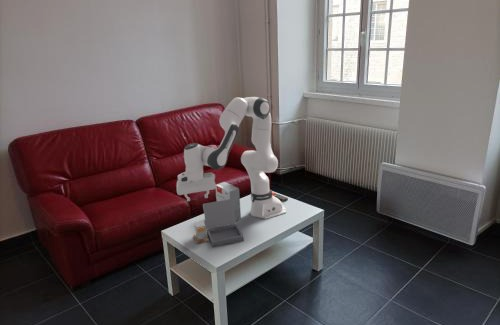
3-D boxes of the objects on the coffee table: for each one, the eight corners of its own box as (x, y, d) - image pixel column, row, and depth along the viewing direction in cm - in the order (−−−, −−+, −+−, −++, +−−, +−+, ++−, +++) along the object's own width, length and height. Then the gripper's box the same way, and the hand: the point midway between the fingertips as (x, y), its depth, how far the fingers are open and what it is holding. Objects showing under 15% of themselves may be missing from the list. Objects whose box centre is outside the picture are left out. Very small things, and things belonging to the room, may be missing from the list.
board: (206, 233, 203) (205, 232, 202) (209, 241, 195) (209, 239, 194) (193, 236, 201) (193, 234, 201) (196, 244, 193) (196, 242, 192)
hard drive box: (217, 214, 226) (214, 184, 220) (227, 210, 231) (225, 181, 225) (231, 222, 214) (228, 191, 208) (241, 218, 219) (239, 187, 213)
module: (204, 233, 201) (203, 220, 198) (206, 239, 195) (205, 225, 193) (195, 235, 199) (194, 222, 197) (197, 240, 194) (196, 227, 191)
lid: (236, 223, 205) (235, 223, 206) (232, 198, 206) (232, 198, 207) (206, 229, 201) (206, 228, 202) (202, 203, 202) (202, 203, 203)
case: (236, 229, 206) (236, 224, 205) (243, 240, 193) (243, 235, 192) (207, 235, 202) (207, 230, 201) (212, 247, 189) (212, 242, 188)
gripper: (213, 170, 193) (215, 194, 197) (174, 175, 187) (177, 200, 192) (215, 173, 187) (218, 198, 191) (175, 179, 182) (179, 205, 186)
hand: (197, 199), depth 191 cm, fingers open, 8 cm apart
